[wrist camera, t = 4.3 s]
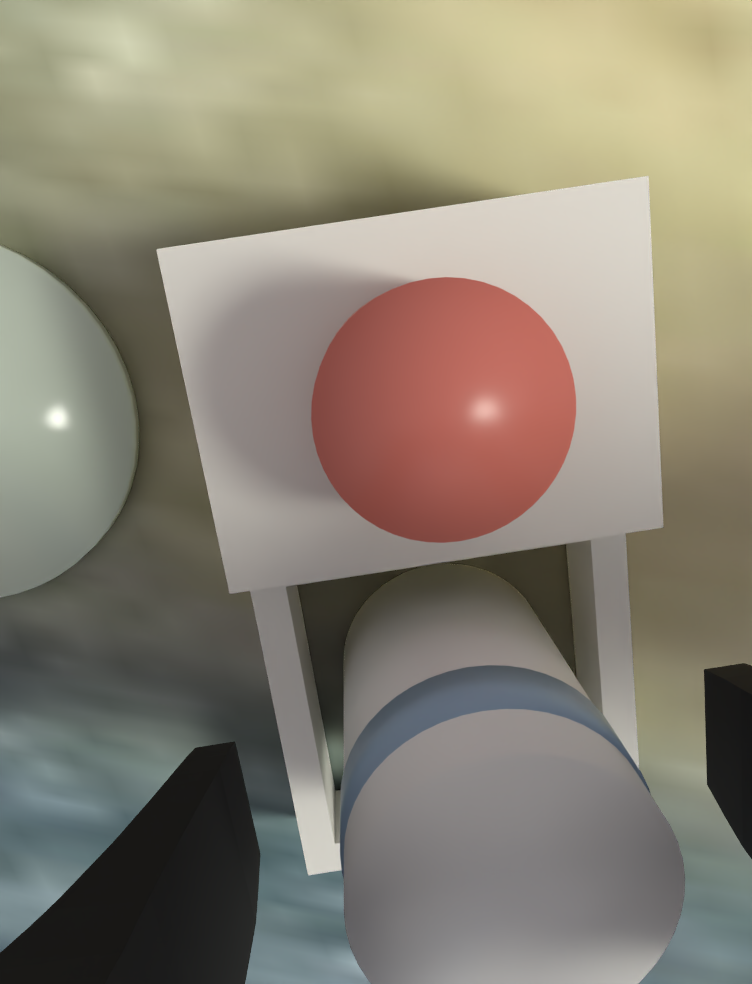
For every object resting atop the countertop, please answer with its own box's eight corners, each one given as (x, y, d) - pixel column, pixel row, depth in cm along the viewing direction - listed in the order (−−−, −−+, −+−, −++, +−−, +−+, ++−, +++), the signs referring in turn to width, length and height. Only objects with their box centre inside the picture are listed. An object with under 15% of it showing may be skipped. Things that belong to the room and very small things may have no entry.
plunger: (510, 457, 12) (584, 521, 8) (336, 483, 12) (334, 560, 8) (492, 275, 11) (566, 257, 8) (306, 303, 11) (290, 298, 8)
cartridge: (553, 732, 15) (694, 1011, 9) (357, 762, 15) (367, 1064, 9) (537, 546, 14) (683, 723, 8) (325, 578, 13) (312, 780, 8)
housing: (612, 772, 15) (678, 884, 12) (311, 819, 15) (304, 944, 12) (574, 208, 12) (648, 176, 9) (201, 264, 12) (156, 249, 9)
